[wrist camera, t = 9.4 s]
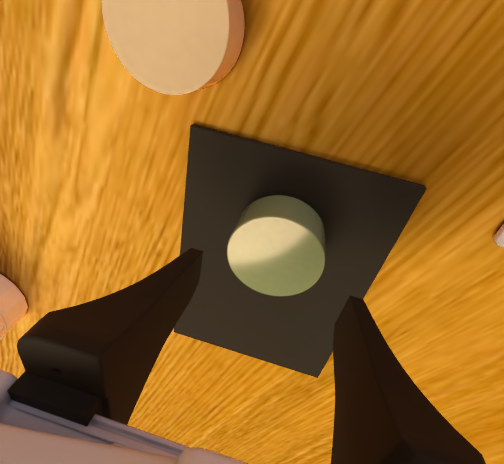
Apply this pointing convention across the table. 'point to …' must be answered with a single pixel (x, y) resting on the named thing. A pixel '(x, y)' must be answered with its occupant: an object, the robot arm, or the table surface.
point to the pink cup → (10, 305)
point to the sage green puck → (278, 246)
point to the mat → (336, 244)
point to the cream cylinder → (175, 41)
